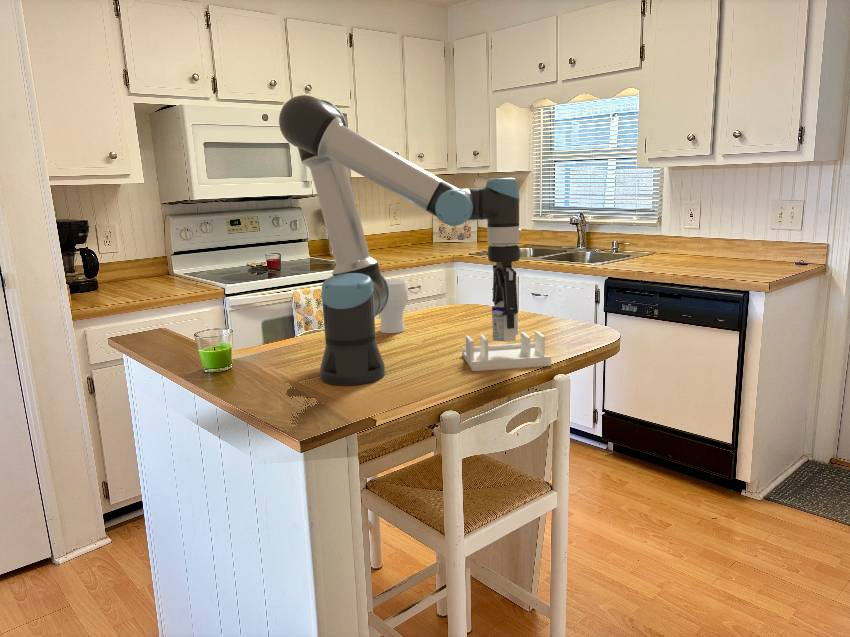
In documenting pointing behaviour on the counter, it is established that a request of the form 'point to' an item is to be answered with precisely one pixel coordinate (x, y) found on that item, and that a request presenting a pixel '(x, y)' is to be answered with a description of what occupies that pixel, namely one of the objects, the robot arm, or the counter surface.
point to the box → (500, 321)
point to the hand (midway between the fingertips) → (505, 336)
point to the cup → (394, 307)
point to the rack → (506, 354)
